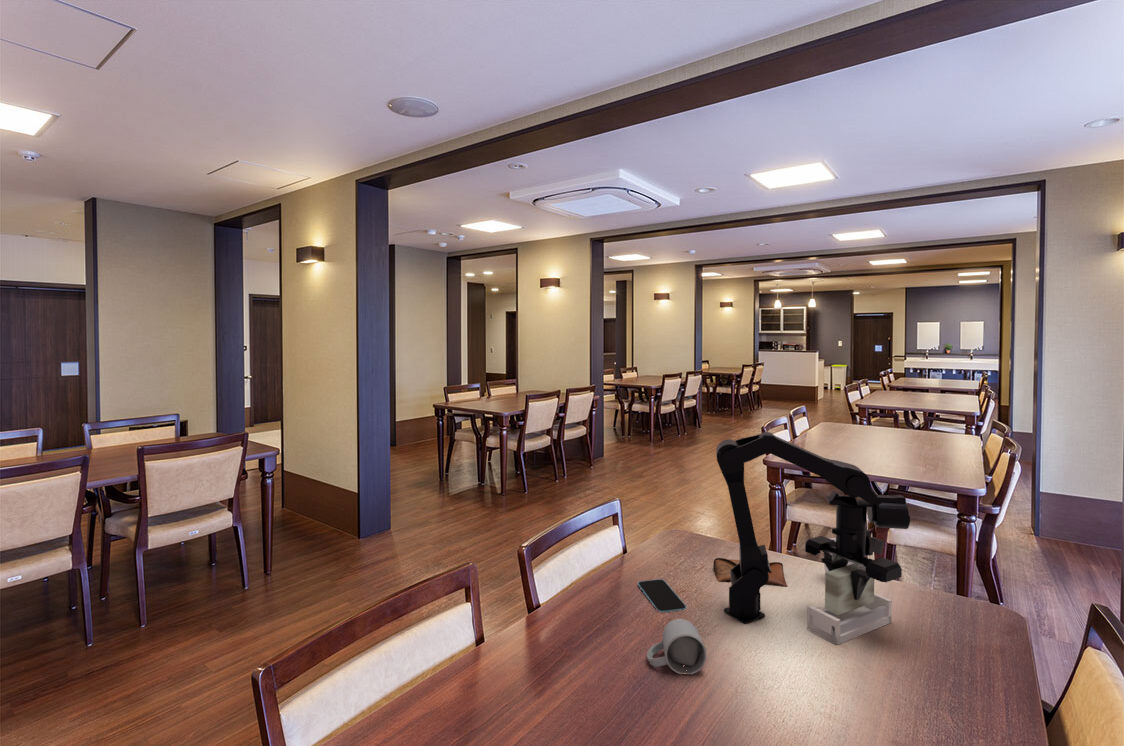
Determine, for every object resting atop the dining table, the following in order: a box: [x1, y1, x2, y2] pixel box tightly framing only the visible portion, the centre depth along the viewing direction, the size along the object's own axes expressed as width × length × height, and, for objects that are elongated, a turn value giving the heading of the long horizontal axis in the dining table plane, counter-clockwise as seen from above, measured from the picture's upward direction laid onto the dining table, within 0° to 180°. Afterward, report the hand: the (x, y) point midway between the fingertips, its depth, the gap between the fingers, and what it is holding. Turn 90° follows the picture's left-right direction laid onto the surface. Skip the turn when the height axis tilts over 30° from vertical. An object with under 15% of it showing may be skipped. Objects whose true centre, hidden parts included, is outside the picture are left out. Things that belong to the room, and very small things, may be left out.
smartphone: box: [637, 578, 687, 613], centre depth 132 cm, size 7×1×15 cm
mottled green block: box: [824, 563, 875, 615], centre depth 117 cm, size 12×3×8 cm, turn 117°
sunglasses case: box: [712, 557, 788, 588], centre depth 142 cm, size 18×7×7 cm, turn 79°
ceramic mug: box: [646, 618, 707, 675], centre depth 105 cm, size 11×8×8 cm
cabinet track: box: [806, 592, 893, 646], centre depth 118 cm, size 18×7×5 cm, turn 117°
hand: (849, 596), depth 117 cm, fingers closed on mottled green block, 3 cm apart
